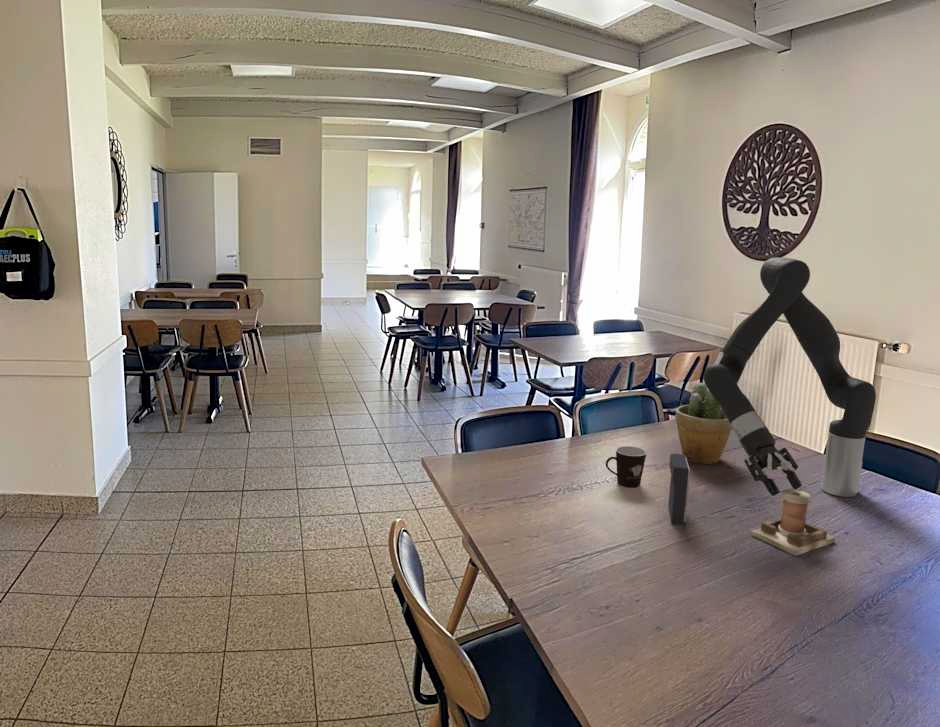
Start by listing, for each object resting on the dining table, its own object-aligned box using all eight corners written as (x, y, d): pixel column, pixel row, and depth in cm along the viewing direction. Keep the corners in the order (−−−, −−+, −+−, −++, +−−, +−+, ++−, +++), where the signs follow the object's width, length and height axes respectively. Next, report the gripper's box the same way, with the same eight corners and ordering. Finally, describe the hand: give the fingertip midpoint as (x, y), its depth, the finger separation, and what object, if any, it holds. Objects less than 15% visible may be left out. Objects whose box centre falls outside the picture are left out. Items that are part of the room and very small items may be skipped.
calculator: (686, 525, 175) (691, 469, 172) (668, 523, 176) (674, 467, 173) (682, 507, 185) (687, 454, 182) (665, 506, 186) (670, 453, 183)
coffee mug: (641, 479, 205) (644, 446, 203) (645, 490, 197) (648, 456, 195) (601, 476, 206) (604, 444, 204) (604, 487, 198) (606, 454, 196)
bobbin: (788, 524, 174) (792, 486, 172) (810, 534, 168) (816, 495, 166) (772, 530, 171) (777, 491, 168) (795, 540, 165) (800, 500, 163)
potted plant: (659, 452, 229) (665, 378, 224) (702, 446, 237) (709, 374, 231) (699, 471, 213) (706, 392, 207) (744, 463, 220) (752, 387, 215)
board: (790, 522, 178) (791, 511, 177) (834, 542, 168) (836, 530, 167) (751, 535, 170) (752, 523, 170) (795, 555, 160) (797, 544, 160)
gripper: (743, 430, 170) (779, 490, 163) (780, 422, 177) (816, 479, 170) (724, 444, 176) (758, 503, 168) (760, 436, 183) (794, 492, 176)
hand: (787, 491), depth 169 cm, fingers open, 8 cm apart
